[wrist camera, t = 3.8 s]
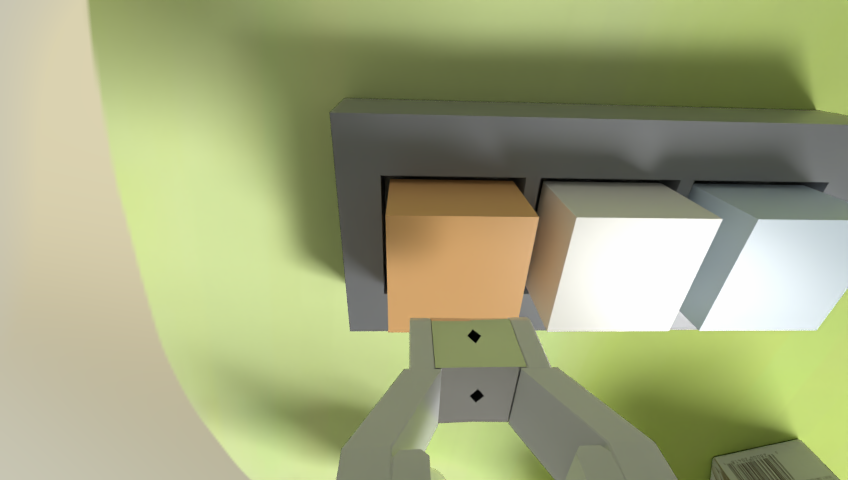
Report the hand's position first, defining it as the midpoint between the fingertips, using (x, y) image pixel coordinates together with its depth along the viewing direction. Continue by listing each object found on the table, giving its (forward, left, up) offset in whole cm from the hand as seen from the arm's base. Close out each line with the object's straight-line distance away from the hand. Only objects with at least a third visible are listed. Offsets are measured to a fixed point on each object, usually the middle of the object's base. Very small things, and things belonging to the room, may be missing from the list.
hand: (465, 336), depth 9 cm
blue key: (-11, 0, -5) cm, 12 cm away
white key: (-6, 0, -5) cm, 8 cm away
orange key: (0, 0, -5) cm, 5 cm away
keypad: (-6, 0, -8) cm, 10 cm away
